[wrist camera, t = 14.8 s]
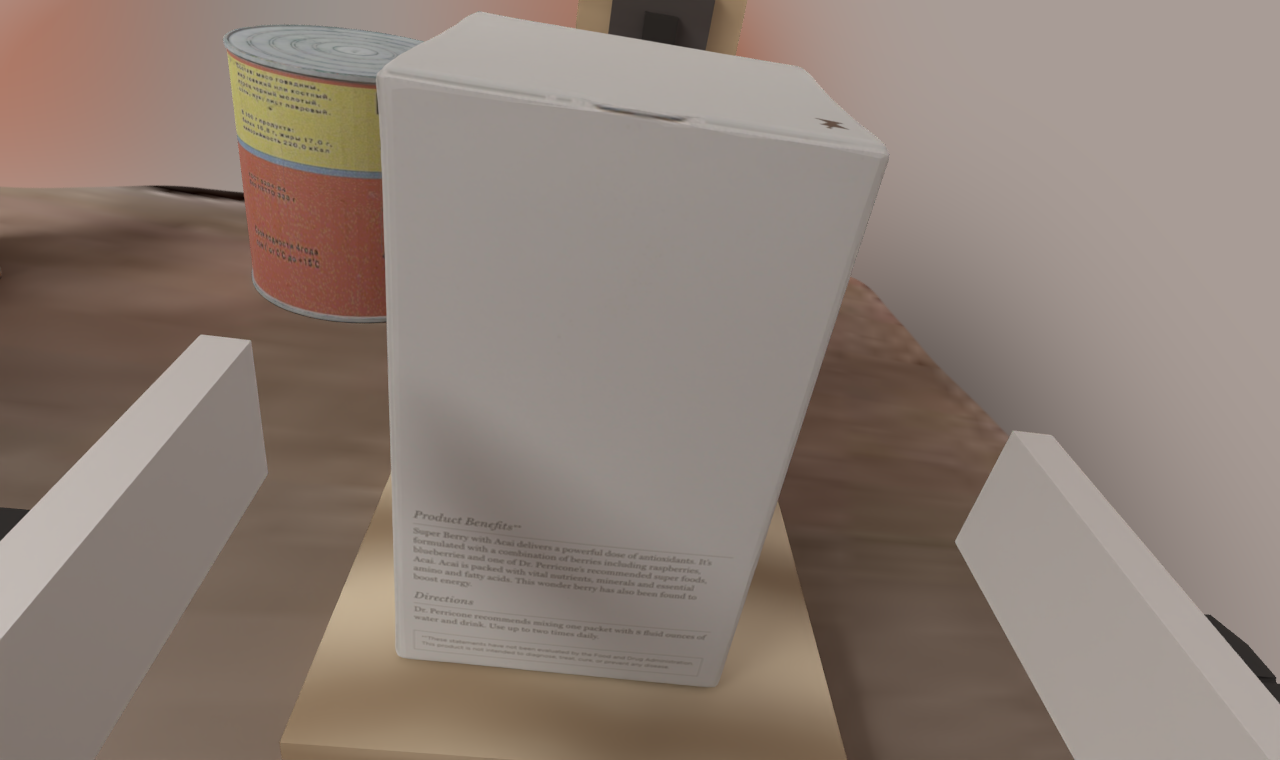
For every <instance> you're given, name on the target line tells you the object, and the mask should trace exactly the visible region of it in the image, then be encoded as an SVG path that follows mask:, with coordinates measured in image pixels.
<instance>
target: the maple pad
mask: <svg viewBox="0 0 1280 760" xmlns="http://www.w3.org/2000/svg"><path fill="white" fill-rule="evenodd" d="M279 743H280V749H281V756H282V760H847V757H846V754H845V750H844V746H843V742H842V739H841V735H840V731H839V727H838V724H837V720H836V716H835V712H834V709H833V705H832V701H831V697H830V694H829V690H828V686H827V682H826V679H825V675H824V671H823V667H822V664H821V660H820V656H819V652H818V649H817V645H816V641H815V637H814V634H813V630H812V626H811V622H810V619H809V615H808V611H807V607H806V604H805V600H804V596H803V592H802V589H801V585H800V581H799V577H798V574H797V570H796V566H795V562H794V559H793V555H792V551H791V547H790V544H789V540H788V536H787V532H786V529H785V525H784V521H783V517H782V514H781V510H780V506H779V502H778V501H777V504H776V507H775V511H774V514H773V517H772V520H771V523H770V526H769V529H768V532H767V536H766V539H765V542H764V545H763V548H762V551H761V554H760V557H759V560H758V563H757V566H756V569H755V572H754V575H753V578H752V581H751V584H750V587H749V590H748V594H747V597H746V600H745V603H744V606H743V609H742V613H741V616H740V619H739V622H738V625H737V628H736V631H735V634H734V637H733V640H732V643H731V646H730V649H729V652H728V655H727V658H726V662H725V665H724V668H723V671H722V674H721V678H720V681H719V683H718V685H717V686H715V687H698V686H688V685H677V684H667V683H656V682H646V681H636V680H625V679H615V678H604V677H594V676H583V675H573V674H562V673H552V672H541V671H531V670H521V669H511V668H501V667H491V666H481V665H471V664H461V663H450V662H439V661H427V660H415V659H407V658H402V657H400V656H398V655H397V652H396V649H395V587H394V555H393V524H392V482H391V474H390V476H389V479H388V481H387V483H386V486H385V488H384V491H383V493H382V496H381V498H380V500H379V503H378V505H377V508H376V510H375V513H374V515H373V517H372V520H371V522H370V525H369V527H368V529H367V532H366V534H365V537H364V539H363V542H362V544H361V546H360V549H359V551H358V554H357V556H356V558H355V561H354V563H353V566H352V568H351V571H350V573H349V575H348V578H347V580H346V583H345V585H344V588H343V590H342V592H341V595H340V597H339V600H338V602H337V604H336V607H335V609H334V612H333V614H332V617H331V619H330V621H329V624H328V626H327V629H326V631H325V634H324V636H323V638H322V641H321V643H320V646H319V648H318V650H317V653H316V655H315V658H314V660H313V663H312V665H311V667H310V670H309V672H308V675H307V677H306V679H305V682H304V684H303V687H302V689H301V692H300V694H299V696H298V699H297V701H296V704H295V706H294V709H293V711H292V713H291V716H290V718H289V721H288V723H287V725H286V728H285V730H284V733H283V735H282V738H281V740H280V742H279Z"/></svg>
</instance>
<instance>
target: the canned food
mask: <svg viewBox="0 0 1280 760" xmlns="http://www.w3.org/2000/svg"><path fill="white" fill-rule="evenodd" d="M223 41H224V45H225V47H226V48H227V54H228V62H229V71H230V80H231V88H232V96H233V105H234V113H235V122H236V129H237V138H238V146H239V155H240V163H241V172H242V180H243V189H244V198H245V206H246V214H247V223H248V231H249V240H250V248H251V256H252V265H253V268H252V281H253V284H254V286H255V288H256V290H257V291H258V292H259V293H260V294H261V295H262V296H263V297H264V298H266V299H267V300H269V301H270V302H272V303H273V304H275V305H277V306H279V307H281V308H283V309H286V310H288V311H291V312H294V313H297V314H300V315H304V316H308V317H312V318H317V319H322V320H329V321H337V322H349V323H377V322H387V313H386V281H385V249H384V222H383V190H382V167H381V140H380V127H379V111H378V99H377V88H376V76H377V73H378V72H379V71H380V70H382V69H383V67H384V66H385V65H386V64H388V63H389V62H390V61H392V60H393V59H394V58H396V57H397V56H399V55H400V54H402V53H404V52H406V51H408V50H410V49H411V48H413V47H415V46H417V45H419V44H421V43H423V42H424V41H419V40H415V39H411V38H406V37H401V36H396V35H391V34H384V33H378V32H372V31H364V30H357V29H349V28H339V27H327V26H312V25H261V26H250V27H244V28H239V29H235V30H232V31H230V32H228V33H227V34H225V36H224V38H223Z"/></svg>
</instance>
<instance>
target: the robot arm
mask: <svg viewBox="0 0 1280 760" xmlns="http://www.w3.org/2000/svg"><path fill="white" fill-rule="evenodd" d="M267 475H268V469H267V461H266V453H265V445H264V437H263V429H262V422H261V414H260V406H259V398H258V390H257V382H256V375H255V367H254V359H253V351H252V343H251V340H243V339H235V338H226V337H218V336H210V335H200V336H199V337H198V338H197V339H196V340H195V341H194V342H193V343H192V344H191V345H190V346H189V347H188V348H187V349H186V350H185V351H184V352H183V353H182V354H181V355H180V356H179V357H178V358H177V359H176V361H175V362H174V363H173V364H172V365H171V366H170V367H169V368H168V369H167V370H166V371H165V372H164V373H163V374H162V375H161V376H160V377H159V378H158V379H157V380H156V381H155V382H154V383H153V384H152V385H151V386H150V387H149V388H148V389H147V390H146V391H145V392H144V394H143V395H142V396H141V397H140V398H139V399H138V400H137V401H136V402H135V403H134V404H133V405H132V406H131V407H130V408H129V409H128V410H127V411H126V412H125V413H124V414H123V415H122V416H121V417H120V418H119V419H118V420H117V421H116V422H115V423H114V424H113V425H112V427H111V428H110V429H109V430H108V431H107V432H106V433H105V434H104V435H103V436H102V437H101V438H100V439H99V440H98V441H97V442H96V443H95V444H94V445H93V446H92V447H91V448H90V449H89V450H88V451H87V452H86V453H85V454H84V455H83V456H82V457H81V458H80V460H79V461H78V462H77V463H76V464H75V465H74V466H73V467H72V468H71V469H70V470H69V471H68V472H67V473H66V474H65V475H64V476H63V477H62V478H61V479H60V480H59V481H58V482H57V483H56V484H55V485H54V486H53V487H52V488H51V489H50V490H49V491H48V493H47V494H46V495H45V496H44V497H43V498H42V499H41V500H40V501H39V502H38V503H37V504H36V505H35V506H34V507H33V508H32V509H31V510H24V509H12V508H1V507H0V760H94V759H95V757H96V756H97V754H98V752H99V751H100V749H101V747H102V746H103V744H104V743H105V741H106V739H107V738H108V736H109V734H110V733H111V731H112V729H113V728H114V726H115V724H116V723H117V721H118V720H119V718H120V716H121V715H122V713H123V711H124V710H125V708H126V706H127V705H128V703H129V701H130V700H131V698H132V697H133V695H134V693H135V692H136V690H137V688H138V687H139V685H140V683H141V682H142V680H143V678H144V677H145V675H146V674H147V672H148V670H149V669H150V667H151V665H152V664H153V662H154V660H155V659H156V657H157V655H158V654H159V652H160V651H161V649H162V647H163V646H164V644H165V642H166V641H167V639H168V637H169V636H170V634H171V632H172V631H173V629H174V628H175V626H176V624H177V623H178V621H179V619H180V618H181V616H182V614H183V613H184V611H185V609H186V608H187V606H188V605H189V603H190V601H191V600H192V598H193V596H194V595H195V593H196V591H197V590H198V588H199V586H200V585H201V583H202V582H203V580H204V578H205V577H206V575H207V573H208V572H209V570H210V568H211V567H212V565H213V563H214V562H215V560H216V559H217V557H218V555H219V554H220V552H221V550H222V549H223V547H224V545H225V544H226V542H227V540H228V539H229V537H230V536H231V534H232V532H233V531H234V529H235V527H236V526H237V524H238V522H239V521H240V519H241V517H242V516H243V514H244V513H245V511H246V509H247V508H248V506H249V504H250V503H251V501H252V499H253V498H254V496H255V494H256V493H257V491H258V490H259V488H260V486H261V485H262V483H263V481H264V480H265V478H266V476H267ZM955 543H956V545H957V547H958V548H959V550H960V552H961V554H962V556H963V558H964V559H965V561H966V563H967V565H968V567H969V569H970V570H971V572H972V574H973V576H974V578H975V579H976V581H977V583H978V585H979V587H980V589H981V590H982V592H983V594H984V596H985V598H986V599H987V601H988V603H989V605H990V607H991V609H992V610H993V612H994V614H995V616H996V618H997V620H998V621H999V623H1000V625H1001V627H1002V629H1003V630H1004V632H1005V634H1006V636H1007V638H1008V640H1009V641H1010V643H1011V645H1012V647H1013V649H1014V650H1015V652H1016V654H1017V656H1018V658H1019V660H1020V661H1021V663H1022V665H1023V667H1024V669H1025V671H1026V672H1027V674H1028V676H1029V678H1030V680H1031V681H1032V683H1033V685H1034V687H1035V689H1036V691H1037V692H1038V694H1039V696H1040V698H1041V700H1042V701H1043V703H1044V705H1045V707H1046V709H1047V711H1048V712H1049V714H1050V716H1051V718H1052V720H1053V722H1054V723H1055V725H1056V727H1057V729H1058V731H1059V732H1060V734H1061V736H1062V738H1063V740H1064V742H1065V743H1066V745H1067V747H1068V749H1069V751H1070V752H1071V754H1072V756H1073V758H1074V760H1280V684H1277V683H1276V677H1275V676H1274V675H1273V673H1272V672H1271V671H1270V670H1269V669H1268V668H1267V666H1266V665H1265V664H1264V663H1263V662H1262V661H1261V660H1260V658H1259V657H1258V656H1257V655H1256V654H1255V653H1254V652H1253V650H1252V649H1251V648H1250V647H1249V646H1248V645H1247V644H1246V643H1245V642H1243V641H1242V640H1241V639H1240V638H1239V637H1237V636H1236V635H1235V634H1234V633H1232V632H1231V631H1230V630H1228V629H1227V628H1226V627H1225V626H1223V625H1222V624H1221V623H1220V622H1218V621H1217V620H1216V619H1215V618H1213V617H1212V616H1211V615H1205V614H1203V613H1202V612H1201V610H1199V608H1198V607H1197V606H1196V605H1195V603H1194V602H1193V601H1192V600H1191V599H1190V597H1189V596H1188V595H1187V594H1186V593H1185V592H1184V590H1183V589H1182V588H1181V587H1180V586H1179V584H1178V583H1177V582H1176V581H1175V580H1174V579H1173V577H1172V576H1171V575H1170V574H1169V573H1168V572H1167V570H1166V569H1165V568H1164V567H1163V566H1162V564H1161V563H1160V562H1159V561H1158V560H1157V559H1156V557H1155V556H1154V555H1153V554H1152V553H1151V551H1150V550H1149V549H1148V548H1147V547H1146V546H1145V544H1144V543H1143V542H1142V541H1141V540H1140V538H1138V536H1137V535H1136V534H1135V532H1134V531H1133V530H1132V529H1131V528H1130V527H1129V525H1128V524H1127V523H1126V522H1125V521H1124V519H1123V518H1122V517H1121V516H1120V515H1119V514H1118V512H1117V511H1116V510H1115V509H1114V508H1113V507H1112V505H1111V504H1110V503H1109V502H1108V501H1107V500H1106V498H1105V497H1104V496H1103V495H1102V494H1101V492H1100V491H1099V490H1098V489H1097V488H1096V486H1095V485H1094V484H1093V483H1092V482H1091V481H1090V479H1089V478H1088V477H1087V476H1086V475H1085V474H1084V472H1083V471H1082V470H1081V469H1080V468H1079V466H1078V465H1077V464H1076V463H1075V462H1074V460H1073V459H1072V458H1071V457H1070V456H1069V455H1068V453H1067V452H1066V451H1065V450H1064V449H1063V447H1061V445H1060V444H1059V443H1058V442H1057V440H1056V439H1055V438H1054V437H1053V436H1052V435H1047V434H1038V433H1030V432H1021V431H1012V433H1011V435H1010V437H1009V439H1008V441H1007V443H1006V444H1005V446H1004V448H1003V450H1002V452H1001V454H1000V456H999V458H998V460H997V462H996V464H995V466H994V467H993V469H992V471H991V473H990V475H989V477H988V479H987V481H986V483H985V485H984V487H983V488H982V490H981V492H980V494H979V496H978V498H977V500H976V502H975V504H974V506H973V508H972V510H971V511H970V513H969V515H968V517H967V519H966V521H965V523H964V525H963V527H962V529H961V531H960V533H959V534H958V536H957V538H956V540H955Z"/></svg>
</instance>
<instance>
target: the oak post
mask: <svg viewBox="0 0 1280 760" xmlns="http://www.w3.org/2000/svg"><path fill="white" fill-rule="evenodd" d="M746 4H747V0H579V2H578V12H577V20H576V29H581V30H587V31H593V32H599V33H605V34H611V35H617V36H623V37H629V38H635V39H641V40H646V41H652V42H658V43H664V44H670V45H675V46H681V47H687V48H693V49H698V50H704V51H710V52H716V53H721V54H727V55H733V56H735V55H736V51H737V46H738V41H739V37H740V32H741V27H742V23H743V18H744V13H745V8H746Z"/></svg>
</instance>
